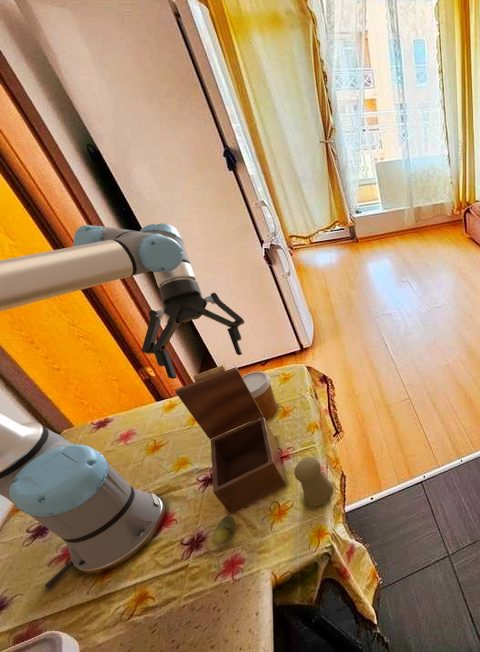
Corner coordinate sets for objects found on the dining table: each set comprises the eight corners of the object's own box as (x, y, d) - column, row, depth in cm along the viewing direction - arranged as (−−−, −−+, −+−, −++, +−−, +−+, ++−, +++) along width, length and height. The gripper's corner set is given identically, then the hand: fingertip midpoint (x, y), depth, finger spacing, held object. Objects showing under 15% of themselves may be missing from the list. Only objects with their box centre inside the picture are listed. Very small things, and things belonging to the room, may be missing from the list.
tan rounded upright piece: (323, 475, 87) (310, 447, 81) (338, 490, 83) (325, 462, 78) (300, 495, 83) (284, 467, 77) (314, 512, 80) (299, 483, 74)
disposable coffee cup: (248, 406, 107) (231, 377, 100) (282, 395, 110) (268, 366, 104) (246, 430, 100) (228, 400, 93) (283, 417, 103) (268, 387, 96)
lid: (236, 369, 82) (234, 353, 86) (175, 392, 77) (175, 374, 81) (263, 416, 91) (259, 400, 96) (209, 439, 86) (208, 422, 91)
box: (286, 485, 85) (273, 462, 81) (230, 514, 80) (213, 492, 76) (275, 438, 97) (263, 416, 92) (226, 461, 92) (210, 439, 87)
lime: (216, 551, 74) (205, 540, 71) (217, 530, 78) (207, 517, 75) (240, 540, 76) (230, 528, 73) (240, 519, 79) (231, 507, 77)
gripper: (238, 275, 96) (266, 347, 94) (122, 306, 86) (149, 389, 83) (232, 264, 90) (262, 341, 87) (104, 297, 79) (133, 387, 76)
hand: (207, 365), depth 85 cm, fingers open, 13 cm apart
